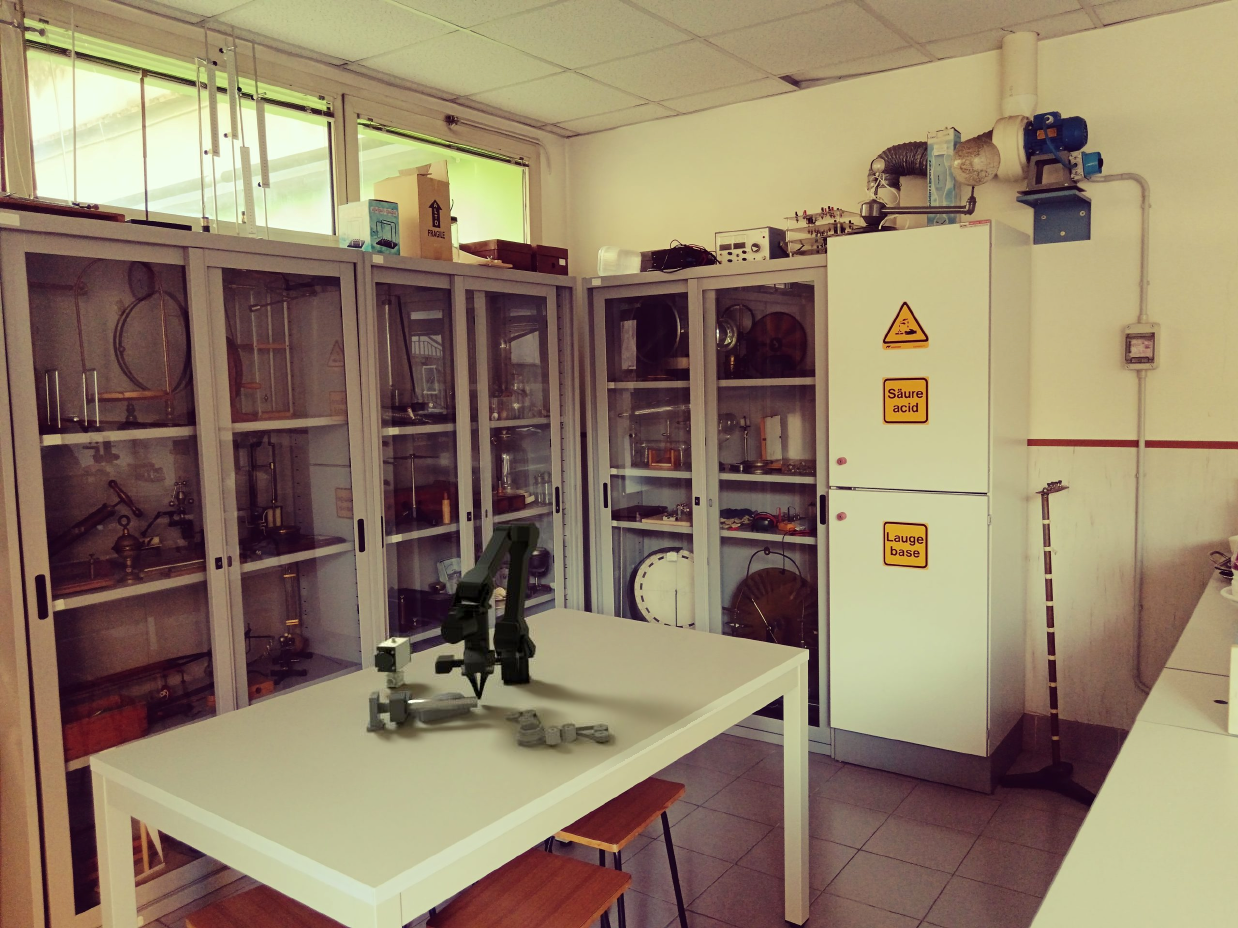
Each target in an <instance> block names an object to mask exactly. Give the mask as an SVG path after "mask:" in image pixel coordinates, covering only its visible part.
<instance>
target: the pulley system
mask: <svg viewBox="0 0 1238 928" xmlns="http://www.w3.org/2000/svg"><path fill="white" fill-rule="evenodd" d="M534 719H536V721H537V722H535V721H534ZM505 720H506V721H507V722H512V723H518V724H519V726H518V727H517V729H516V730H517V731H518V733H517V735H516V736H515V737H516V742H517V745H518V746H521V747H526V748H531V747H533V748H534V747H538V746H541V745H546V744H547V745H552V746H553V745H557V744H559V743H561V740H562V741H564V742H566V743H570V742H573V741H575V740H576V739H577V737H581V738H584V739H588V740H592V741H596V742H600V743H604V742H606V741H609V740H610V739H611V738H610V729H609V724H604V723H597V724H595V725H585V726H576V724H575V723H572V722H570V723H568V722H567V723H564V724H562V725H561V728H560V727H559V726H558V725H549V726H547V727H545V728H544V726H543V723H542V722H541V720H540V718H539V715H538V713H537V710H535V709H525V710H524V711H518V712H517V711H516V712H509V713H507V714H505ZM587 731H593V734H594V735H592V734H588V733H583V732H587Z"/></svg>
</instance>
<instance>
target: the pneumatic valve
mask: <svg viewBox="0 0 1238 928" xmlns="http://www.w3.org/2000/svg"><path fill="white" fill-rule="evenodd" d="M375 648H376V649H375V650H376V653H375V654H374V658H373V659H374V668H377V671H376V672H377V673H386V674H385V677H386V679H385V680H386V681H385V682H386V684H385V686H386V688H398V689H399V688H400V687H401V686H403V685H404V684H405V682H406V681H405V680H404V679H405V670H404V669H403V668H405V667H406V666H407V665H409V664H410V663H412V653H413V645H412V643H411V637H408V636H407V637H402V636H399V637H398V636H392V637H391V638H389V639H387V640H384V641H382V642H380V643H379V644H378V645H377V646H376V647H375Z"/></svg>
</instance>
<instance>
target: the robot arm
mask: <svg viewBox="0 0 1238 928" xmlns="http://www.w3.org/2000/svg"><path fill="white" fill-rule="evenodd" d="M540 534H541V532H540V527H538V526H537V525H536V523H535V522H531V521H510V522H508V524H496V525H494V527H493V529H492V535H491V537H490V539H489V540H488V543H487V544H486V546H485V548H484V550H483V551H482V553H481V555H480V557H479V559H478V561H477V563H476V565H475V566H474V567H473V568H471V569H468V570H467V571H466V572H465V573H464V574H463V576H462V577H461V579H460V580H459V581H458V584H456V589H455V591H454V594H453V597H452V600H451V604H450V607H449V610H450V611H449V612H448V613H447V618H446V619H444V621H443V622H442V623H441V627H440V634H441V638H442V639H443V640H444V641H445V643H448V644H450V645H457V644H459V643H460V642H463V646H464V647H463V648H464V650H463V656H462V657H463V658H455V654H443V655H440V654H439V655H438V656H437V658H436V660H435V662H434V672H435V673H434V674H435V675H445V674H448V675H449V674H450V673H451V672H452V671H453V669H454V668H455V669H457V668H458V669H459V668H460V670H461V672H460V675H461V677H466V679H467V680H468V681H469V683H470V684H471V687H472V690H473V693H474V694H475V695H474V696H477V697H478V701H481V700H482V697H483V692H484V689H485V685H486V683H487V680H488V678H489V676H490V675H494V673H495V666H500V675H501V676H500V680H501V681H502V684H503V685H517V684H522V685H523V684H529V683H531V675H530V660H529V659H534V657H535V655H536V649H537V646H536V644H535V643H534V641H533V640H532V639H531V637H530V628H529V625H528V623H527V620H526V619H525V605H526V596H527V584H528V573H529V565H530V564H529V563H530V558H531V556H532V555H533V554H534V552H535V551H536V549H537V548H538V542H539V539H540ZM507 554H508V556H509V560H508V568H507V579H506V591H505V599H504V608H503V609H504V610H503V615H502V617H501V618H500V620H499V621H496V622H495V623H494V632H493V637H492V644H493V647H494V649H490V648H491V646H490V625H489V624H490V623H489V620H490V619H489V610H492V608H493V605H492V604H491V603H490V601H491V599H492V597H493V595H494V592H495V591H494V590H495V588H496V585H495V580H494V579H495V576H496V574H497V572H498V570H499V569H500V566H501V564H502V563H503V561H504V559H505V557H506V555H507ZM478 674H480V677H479V681H478Z"/></svg>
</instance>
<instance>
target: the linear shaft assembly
mask: <svg viewBox="0 0 1238 928" xmlns="http://www.w3.org/2000/svg"><path fill="white" fill-rule="evenodd" d="M380 697H381V696H380V691H371V693H370V695H369V697H368V708H369V710H368V711H369V720H368V723H367V726H366V732H376V731H378V732H379V731H382V729H383V726H384V724H385V718H381V715H383V714H390V712H389V701H384V702H383V701H381V700H380V699H381V698H380ZM478 703H479V700H478V697H477V696H476V695H474V696H465V697H458V698H442V699H426V700H410V701H404V712H408V713H411V712H417V711H433V710H448V709H464V708H470V709H476V708H477V709H478V707H479V704H478Z"/></svg>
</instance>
